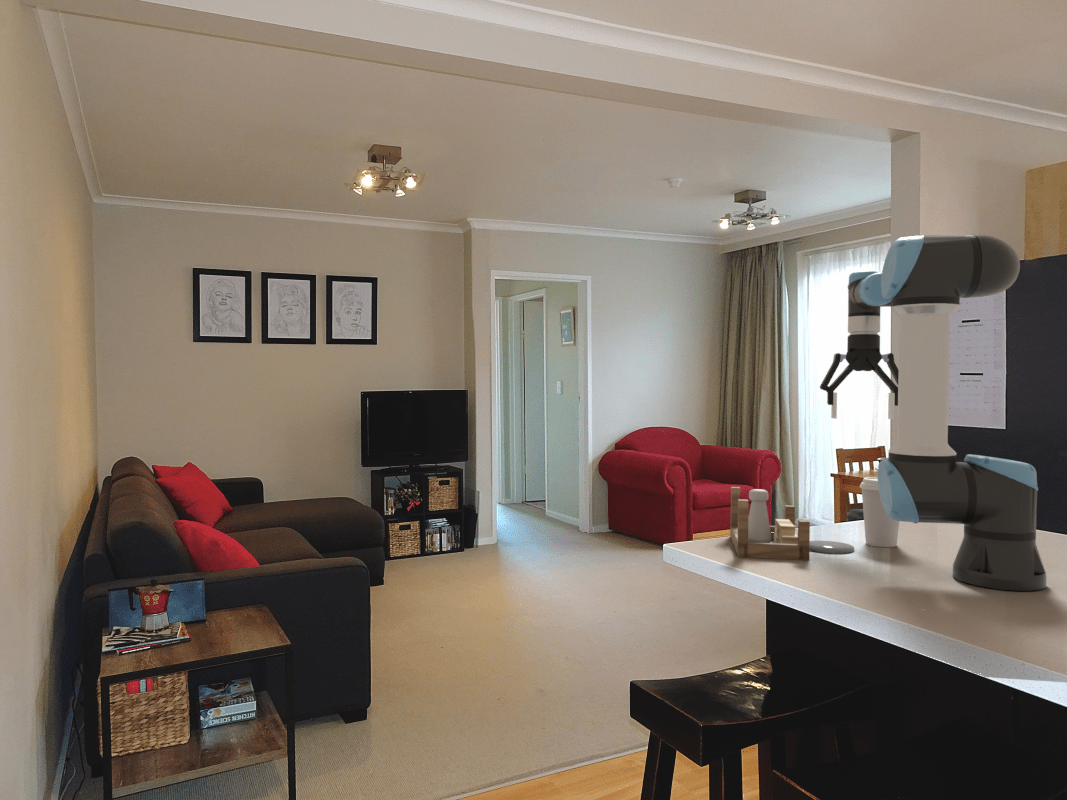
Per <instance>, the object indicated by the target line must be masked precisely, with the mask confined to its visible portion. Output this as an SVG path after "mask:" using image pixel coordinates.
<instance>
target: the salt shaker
mask: <svg viewBox="0 0 1067 800" xmlns="http://www.w3.org/2000/svg"><path fill="white" fill-rule="evenodd" d="M769 497H770V494H769V492H768V490H766V489H761V488H759V489H758V488H754V489H750V490H749V492H748V499H749V501H751V503H750V508H749V511H748V542H755V543H771V542H772V539H771V532H770V526H771V525H770V519H769V513H768V506H767V502H766V501H768V500H769Z"/></svg>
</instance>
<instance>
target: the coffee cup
mask: <svg viewBox="0 0 1067 800" xmlns="http://www.w3.org/2000/svg"><path fill="white" fill-rule="evenodd" d="M859 488H860V489H861V495H862V496H861V497H862V510H863V521H864V523H863V524H864V535H865V536H864V538H865V544H866V545H868V546H872V547H877V548H895V547H897V545H898V536H899V529H900V528H899V527H900V521H896V520H893V519H892V518H890V517H889V516H888V514H887V513H886V511H885V509H884V507H883V504H882V501H881V497H880V493H879V487H878V476H868V477H867V476H866V477H864V478H863V479H862V482H860V484H859Z"/></svg>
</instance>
